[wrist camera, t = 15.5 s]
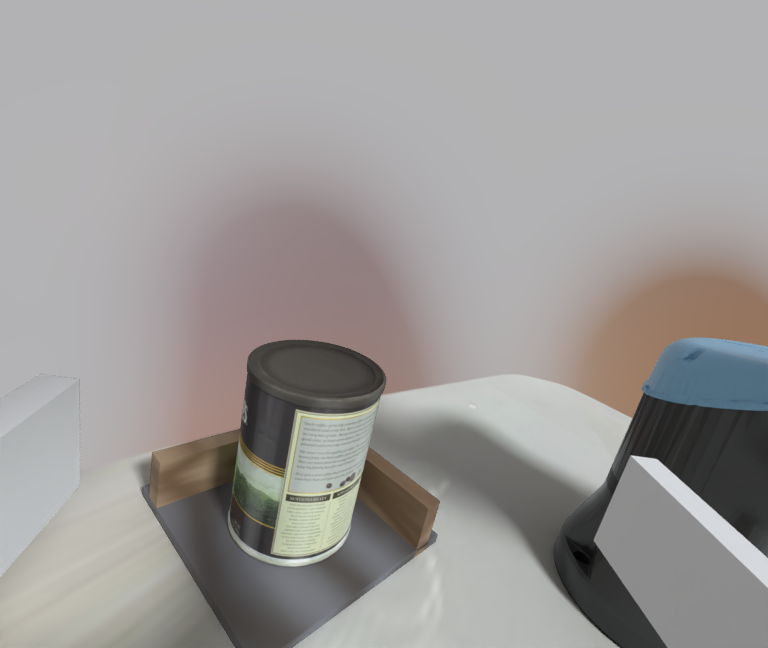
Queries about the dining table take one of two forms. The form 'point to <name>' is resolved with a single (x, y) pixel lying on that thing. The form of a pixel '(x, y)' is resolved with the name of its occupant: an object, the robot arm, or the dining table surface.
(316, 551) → the coffee can
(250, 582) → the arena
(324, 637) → the dining table surface
